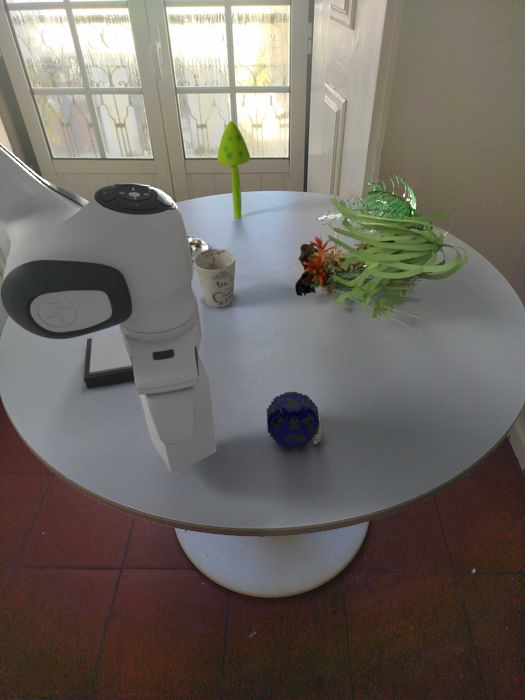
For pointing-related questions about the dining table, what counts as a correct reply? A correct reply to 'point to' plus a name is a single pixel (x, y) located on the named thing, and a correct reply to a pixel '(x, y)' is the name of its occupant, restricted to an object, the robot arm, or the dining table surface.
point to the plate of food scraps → (197, 246)
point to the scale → (107, 361)
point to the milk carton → (205, 433)
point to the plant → (377, 253)
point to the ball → (293, 420)
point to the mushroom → (233, 160)
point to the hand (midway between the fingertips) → (178, 408)
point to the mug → (216, 276)
